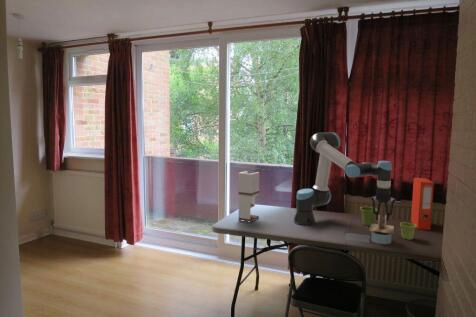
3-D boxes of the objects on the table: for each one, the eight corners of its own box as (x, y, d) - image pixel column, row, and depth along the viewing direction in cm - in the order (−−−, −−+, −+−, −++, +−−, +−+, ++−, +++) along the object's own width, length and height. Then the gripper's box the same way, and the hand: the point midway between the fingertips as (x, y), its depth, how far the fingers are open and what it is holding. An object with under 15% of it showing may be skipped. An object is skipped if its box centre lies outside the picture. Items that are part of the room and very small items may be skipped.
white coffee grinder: (251, 222, 247) (251, 174, 243) (238, 220, 252) (238, 172, 248) (258, 218, 256) (259, 172, 252) (246, 216, 262) (246, 170, 258)
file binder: (423, 222, 246) (425, 178, 243) (430, 230, 230) (433, 182, 226) (410, 221, 248) (413, 177, 245) (417, 229, 232) (420, 182, 228)
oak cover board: (369, 230, 204) (369, 219, 203) (370, 224, 216) (371, 214, 215) (393, 233, 199) (394, 222, 198) (393, 227, 211) (394, 216, 210)
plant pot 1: (378, 227, 235) (379, 211, 234) (360, 226, 237) (361, 210, 236) (375, 222, 247) (376, 207, 245) (358, 221, 249) (358, 206, 248)
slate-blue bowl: (370, 243, 206) (371, 233, 205) (371, 237, 216) (372, 228, 215) (391, 245, 201) (391, 235, 200) (391, 239, 211) (391, 230, 210)
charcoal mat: (344, 240, 210) (344, 239, 210) (347, 233, 223) (347, 232, 223) (368, 243, 205) (368, 242, 205) (370, 236, 217) (370, 235, 217)
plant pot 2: (395, 235, 218) (396, 222, 217) (410, 235, 219) (410, 222, 218) (404, 241, 209) (405, 227, 208) (419, 240, 210) (419, 226, 209)
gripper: (368, 187, 204) (367, 225, 207) (398, 189, 198) (396, 229, 200) (369, 185, 211) (368, 222, 214) (398, 187, 205) (396, 225, 207)
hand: (381, 225), depth 207 cm, fingers closed on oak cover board, 3 cm apart
